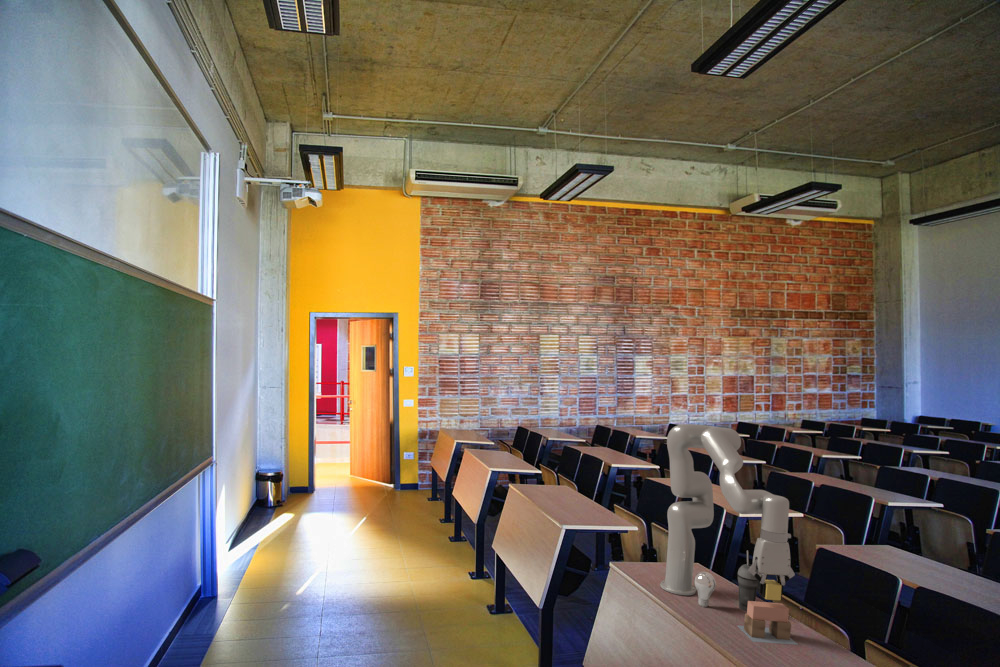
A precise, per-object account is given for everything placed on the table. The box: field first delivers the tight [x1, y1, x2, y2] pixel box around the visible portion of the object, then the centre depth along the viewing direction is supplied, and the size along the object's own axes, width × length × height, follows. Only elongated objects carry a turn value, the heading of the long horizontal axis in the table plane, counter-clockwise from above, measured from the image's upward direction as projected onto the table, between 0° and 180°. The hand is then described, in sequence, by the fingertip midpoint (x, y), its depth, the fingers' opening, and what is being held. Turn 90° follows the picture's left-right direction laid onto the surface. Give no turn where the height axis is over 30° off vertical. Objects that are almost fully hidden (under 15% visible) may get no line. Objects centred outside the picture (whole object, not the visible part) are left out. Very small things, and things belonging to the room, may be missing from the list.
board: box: [736, 624, 799, 646], centre depth 186 cm, size 11×14×1 cm
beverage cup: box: [736, 550, 759, 612], centre depth 207 cm, size 7×7×20 cm
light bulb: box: [693, 571, 717, 608], centre depth 206 cm, size 7×7×12 cm
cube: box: [763, 578, 782, 601], centre depth 187 cm, size 4×4×4 cm
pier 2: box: [768, 620, 792, 640], centre depth 187 cm, size 5×4×5 cm
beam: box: [746, 600, 790, 622], centre depth 187 cm, size 11×4×4 cm, turn 92°
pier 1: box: [743, 612, 766, 638], centre depth 186 cm, size 5×4×5 cm
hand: (769, 595), depth 187 cm, fingers closed on cube, 4 cm apart
